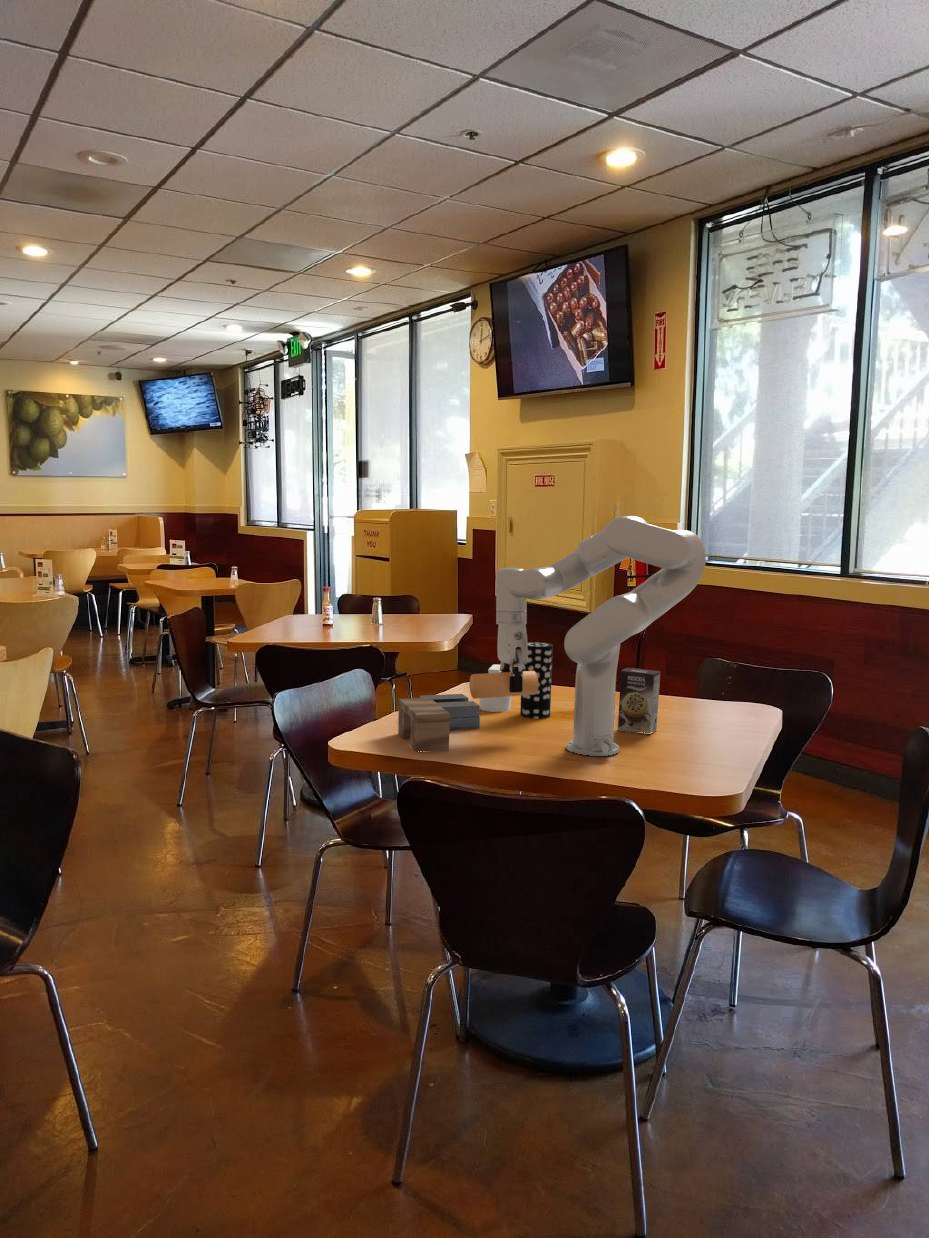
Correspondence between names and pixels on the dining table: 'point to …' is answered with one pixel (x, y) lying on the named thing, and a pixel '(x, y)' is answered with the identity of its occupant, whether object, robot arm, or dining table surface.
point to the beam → (424, 724)
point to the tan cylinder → (501, 685)
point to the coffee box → (638, 700)
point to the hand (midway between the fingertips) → (511, 688)
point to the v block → (458, 710)
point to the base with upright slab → (495, 698)
